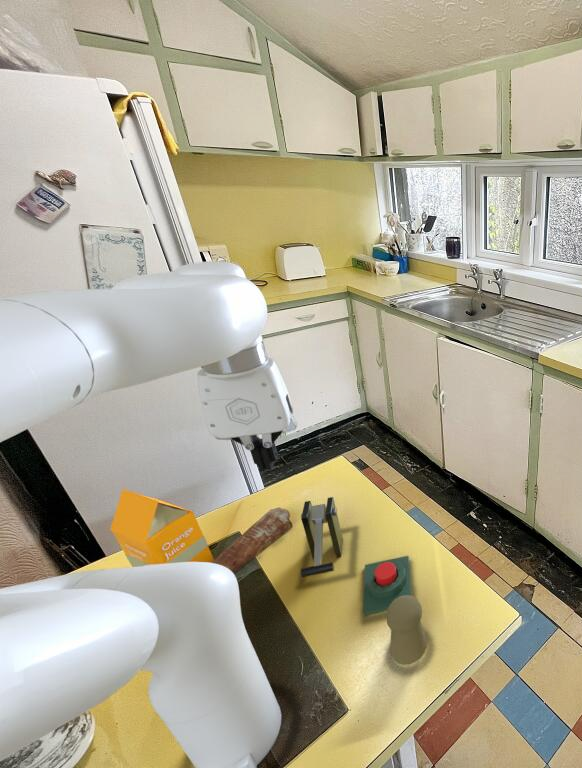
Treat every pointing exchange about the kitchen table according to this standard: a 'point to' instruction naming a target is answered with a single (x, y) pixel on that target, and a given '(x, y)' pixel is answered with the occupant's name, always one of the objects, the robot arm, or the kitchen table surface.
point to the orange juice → (157, 532)
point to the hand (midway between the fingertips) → (268, 464)
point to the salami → (255, 539)
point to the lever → (318, 543)
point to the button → (385, 573)
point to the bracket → (332, 524)
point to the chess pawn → (406, 630)
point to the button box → (383, 596)
